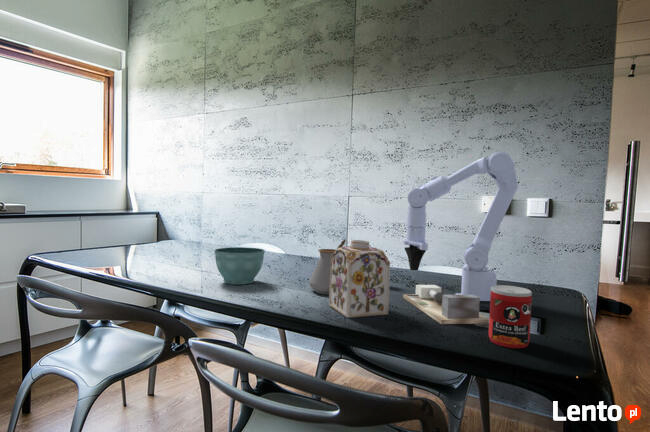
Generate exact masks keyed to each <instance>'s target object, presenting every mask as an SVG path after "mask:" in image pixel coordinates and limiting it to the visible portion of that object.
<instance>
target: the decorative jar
mask: <svg viewBox="0 0 650 432" xmlns="http://www.w3.org/2000/svg"><path fill="white" fill-rule="evenodd" d="M337 248H338V247H337ZM337 248H336V249H335V250H336V251H335V253H333V255H332V257H331V270H330V293H329V294H328V295H329V296H328V297H329V299H328V300H329V301H328V302H329V303H328V305H329V306H330V307H331V308H333V309H334V310H335V311H336V312H338V313H340V314H341V315H343V316H344V317H345V318H348V319H350V318H351V319H352V318H362V317H372V316H384V315H389V302H390V281H391V280H390V277H391V276H390V275H391V274H390V272H391V262H390V260H389V258H388V257H387V256H386V255H387V254H386V253H385V252H384V250H383V249H380V248H376V247H372V246H370V241H368V240H362V239H361V240H359V239H352V240H351V241H350V246H349V245H348V246H347V245H344V246H342V247H340V248H338V249H337Z"/></svg>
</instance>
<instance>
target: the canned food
mask: <svg viewBox="0 0 650 432" xmlns="http://www.w3.org/2000/svg"><path fill="white" fill-rule="evenodd" d="M532 303H533V292H532V290H530V289H528V288H525V287H520V286H515V285H505V284H503V285H501V284H498V285H496V286H492V287H491V294H490V301H489V315H488V316H489V317H488V319H489V323H488V338H489V341H490V342H491V343H493V344H494V345H497V346H501V347H504V348H507V349H525V348H527V347H528V346H529V344H530V340H531V339H530V335H531V321H532V319H531V318H532V317H531V316H532V305H533V304H532Z"/></svg>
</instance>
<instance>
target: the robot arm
mask: <svg viewBox="0 0 650 432" xmlns="http://www.w3.org/2000/svg"><path fill="white" fill-rule="evenodd" d="M515 168H516V164H515V161H514V160H513V159H512V157H511V156H510V155H509V154H508V153H507V152H505V151H496V152H494V153H492V154H491V155H490V156H489V155H485V156H484V157H482V158H481V157H480V158H479V159H477V160H475V161H473V162H470V164H468V165H466V166H464V167H462V168H461V169H459V170H457V171H455V172H452V174H450V175H448V176H442V175H439V176H436V175H435V176H433V177H432V180H430V181H428V182H426V183H424V184H420V185H418V188H417V187H415V188H413V189H412V190H411V191H409V193H408V195H407V202H408V206H407V210H408V212H407V215H406V216H407V218H406V237H405V238H404V239H403V240H402V243H403V245H405V247H404V251H405V253H406V255H407V259H408V264H409V265H408V266H409V269H410V271H419V268H420V264H421V262H422V259H423V257H424V255H425V253H426V251H428V249H429V243H427V242H426V227H427V226H426V224H427V213H426V208H427V206H426V205H427V203H428V202H433V201H435V200H437V199H440V198H441V197H443V196H445V195H447V194H449V193H450V191H451V188H452V186H454V185H456V184H459V183H461V182H463V181H464V180H467V179H469V178H471V177H473V176H475V175H486V174H488V175H489V176H490V177H491V178H493V180H494V182H495V184H496V186H497V188H498V189H497V191H496V192H495V195H494V197H493V199H492V202H491V203H490V205H489V207H488V210H487V212H486V214H485V217H484V219H483V221H482V223H481V225H480V227H479V229H478V232H477V234H476V235H475V237H474V239H473V241H472V243H471V244H470V245H469V246H467V248H466V249H465V251H464V253H463V258H464V261H465V264H464V265H462V269H461V288H460V290H461V291H460V292H459V293H455V294H454V295H475V296H477V297H480V302H490V294H491V287H492V286H496V285H497V284H498V283H497V282H498V278H497V275H496V273H495V271H494V270H493V269H489V268H488V267H487V265H488V263H489V253H490V250H491V247H492V244H493V241H494V239H495V236H496V234H497V232H498V230H499V228H500V227H501V223H502V222H503V219H504V217H505V215H506V214H507V211H508V209H509V207H510V204H511V202H512V201H513V198H514V196H515V194H516V192H517V190H518V185H519V184H518V179H517V173H516V169H515ZM406 246H408V247H406Z"/></svg>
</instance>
